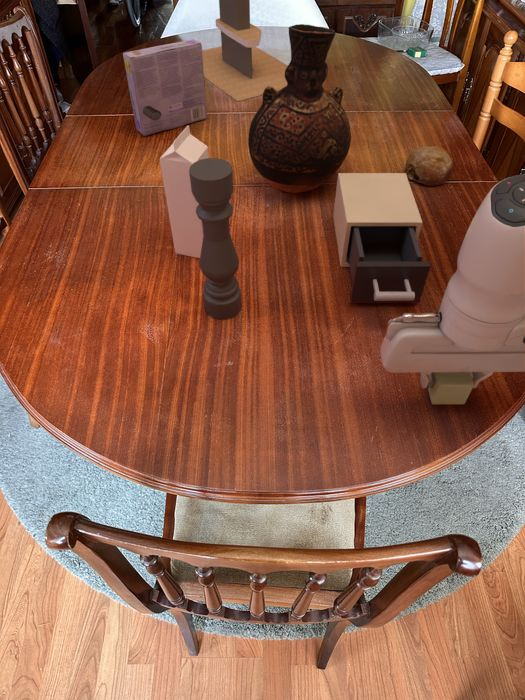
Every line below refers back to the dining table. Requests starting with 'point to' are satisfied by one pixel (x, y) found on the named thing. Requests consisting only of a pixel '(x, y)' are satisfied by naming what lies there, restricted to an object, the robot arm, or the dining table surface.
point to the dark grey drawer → (386, 265)
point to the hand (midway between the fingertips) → (447, 384)
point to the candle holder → (216, 236)
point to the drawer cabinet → (372, 205)
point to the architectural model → (241, 56)
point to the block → (451, 387)
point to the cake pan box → (166, 86)
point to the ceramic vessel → (301, 119)
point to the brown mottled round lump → (429, 165)
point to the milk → (183, 192)
